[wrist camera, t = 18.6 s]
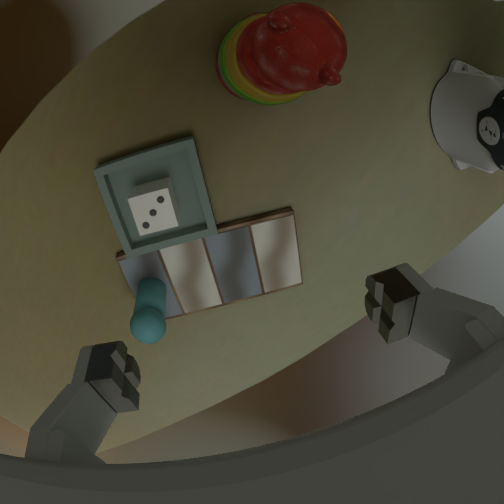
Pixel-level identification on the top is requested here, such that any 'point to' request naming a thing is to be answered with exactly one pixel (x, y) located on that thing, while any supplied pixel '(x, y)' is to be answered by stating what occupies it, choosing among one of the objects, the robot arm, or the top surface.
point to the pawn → (149, 311)
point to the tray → (150, 169)
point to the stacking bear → (282, 54)
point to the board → (223, 264)
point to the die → (154, 206)
